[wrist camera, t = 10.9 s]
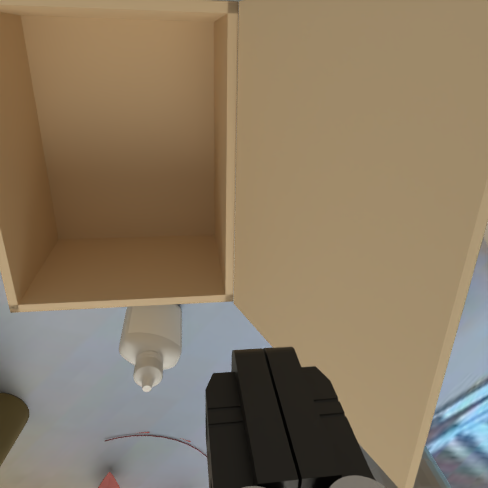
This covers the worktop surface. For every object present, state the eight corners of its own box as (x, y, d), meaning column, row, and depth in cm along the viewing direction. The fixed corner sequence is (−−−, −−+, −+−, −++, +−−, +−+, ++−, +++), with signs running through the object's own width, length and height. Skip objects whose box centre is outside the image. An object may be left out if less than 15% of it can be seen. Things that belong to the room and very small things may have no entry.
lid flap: (239, 1, 24) (248, 2, 25) (233, 303, 33) (240, 301, 33) (547, -48, 11) (562, -46, 11) (403, 493, 19) (413, 487, 19)
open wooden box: (220, 14, 35) (238, 1, 25) (220, 237, 44) (233, 301, 33) (13, 6, 33) (-67, -11, 22) (54, 242, 42) (10, 312, 31)
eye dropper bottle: (152, 279, 45) (142, 353, 34) (187, 312, 47) (189, 393, 36) (120, 303, 45) (102, 384, 35) (157, 335, 48) (150, 420, 37)
